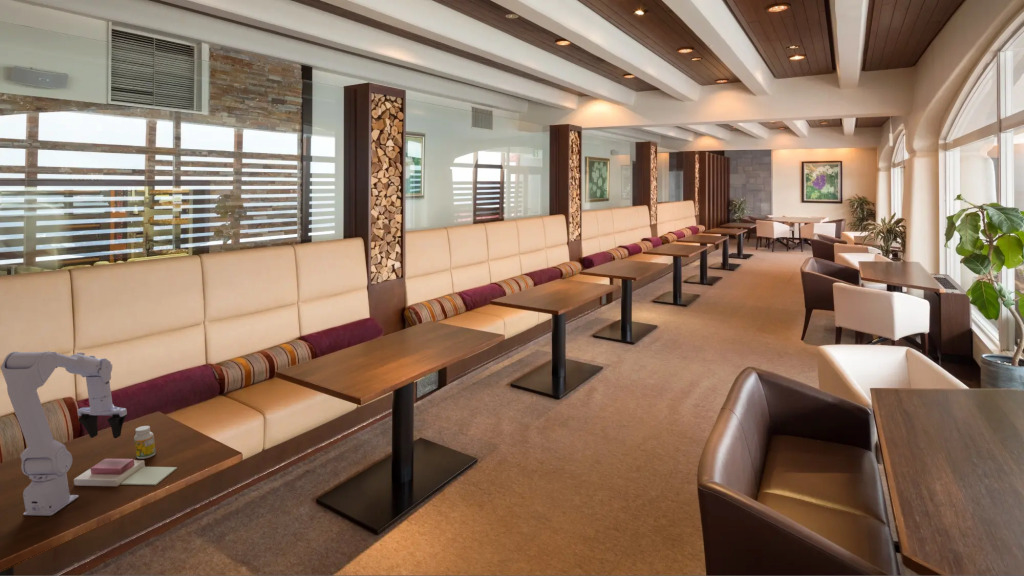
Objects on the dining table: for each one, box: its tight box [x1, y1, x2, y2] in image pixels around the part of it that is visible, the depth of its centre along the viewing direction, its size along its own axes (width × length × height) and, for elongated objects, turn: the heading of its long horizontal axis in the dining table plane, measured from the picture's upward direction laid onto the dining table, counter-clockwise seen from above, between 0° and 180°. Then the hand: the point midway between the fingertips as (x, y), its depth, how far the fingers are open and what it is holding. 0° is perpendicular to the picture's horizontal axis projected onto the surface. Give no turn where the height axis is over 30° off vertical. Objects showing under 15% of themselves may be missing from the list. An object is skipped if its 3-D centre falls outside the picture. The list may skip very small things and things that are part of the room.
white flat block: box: [73, 459, 146, 487], centre depth 171 cm, size 12×13×2 cm
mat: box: [120, 466, 178, 486], centre depth 171 cm, size 10×11×1 cm
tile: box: [89, 458, 135, 475], centre depth 171 cm, size 6×9×2 cm, turn 88°
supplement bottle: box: [133, 425, 157, 460], centre depth 183 cm, size 5×5×10 cm
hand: (105, 436), depth 177 cm, fingers open, 7 cm apart
